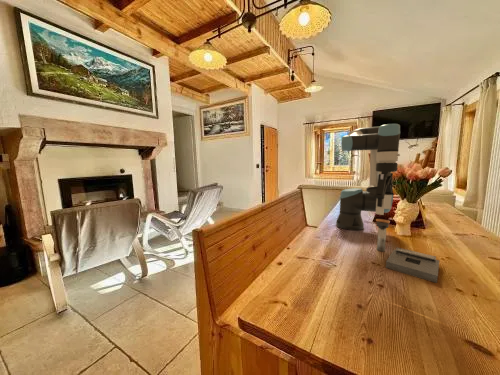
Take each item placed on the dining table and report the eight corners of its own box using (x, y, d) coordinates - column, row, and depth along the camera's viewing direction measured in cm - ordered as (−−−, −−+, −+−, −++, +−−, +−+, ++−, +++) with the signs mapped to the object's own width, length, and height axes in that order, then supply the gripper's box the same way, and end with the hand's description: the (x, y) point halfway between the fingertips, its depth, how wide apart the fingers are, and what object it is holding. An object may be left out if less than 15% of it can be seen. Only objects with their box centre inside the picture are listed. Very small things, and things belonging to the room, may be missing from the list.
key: (373, 249, 90) (374, 219, 88) (375, 246, 93) (377, 217, 91) (386, 253, 86) (388, 221, 84) (388, 250, 89) (390, 219, 87)
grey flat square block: (385, 267, 75) (386, 257, 74) (393, 255, 84) (394, 245, 84) (436, 283, 65) (438, 271, 64) (438, 266, 75) (439, 256, 74)
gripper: (391, 162, 73) (387, 218, 76) (402, 162, 91) (399, 208, 93) (368, 162, 78) (365, 215, 81) (383, 162, 96) (380, 205, 98)
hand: (383, 211), depth 87 cm, fingers open, 13 cm apart
